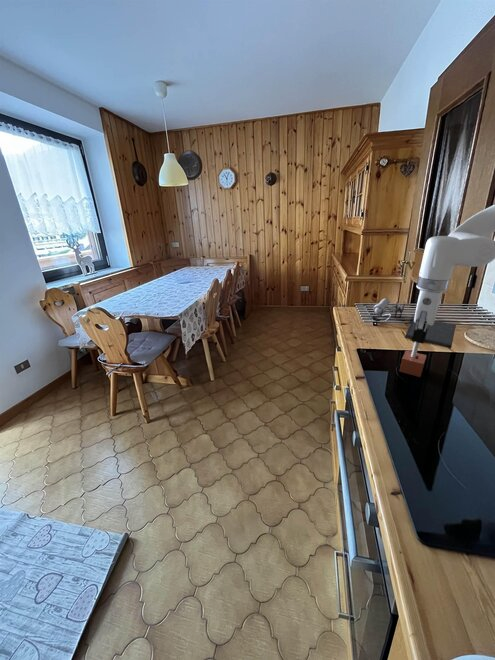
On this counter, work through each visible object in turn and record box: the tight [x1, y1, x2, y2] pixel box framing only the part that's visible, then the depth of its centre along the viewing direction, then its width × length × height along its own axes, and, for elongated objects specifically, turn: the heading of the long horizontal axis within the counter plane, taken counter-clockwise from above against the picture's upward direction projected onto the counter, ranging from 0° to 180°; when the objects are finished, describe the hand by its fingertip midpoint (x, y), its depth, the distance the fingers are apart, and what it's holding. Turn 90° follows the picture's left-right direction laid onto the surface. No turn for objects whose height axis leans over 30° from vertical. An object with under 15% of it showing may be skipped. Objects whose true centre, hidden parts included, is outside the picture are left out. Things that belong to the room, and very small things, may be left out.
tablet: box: [404, 318, 457, 349], centre depth 113 cm, size 16×20×1 cm
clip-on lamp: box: [369, 298, 406, 323], centre depth 127 cm, size 12×6×18 cm
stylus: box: [411, 342, 420, 358], centre depth 87 cm, size 1×1×13 cm
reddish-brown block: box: [398, 349, 427, 378], centre depth 91 cm, size 6×6×5 cm
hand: (418, 340), depth 87 cm, fingers closed on stylus, 1 cm apart
